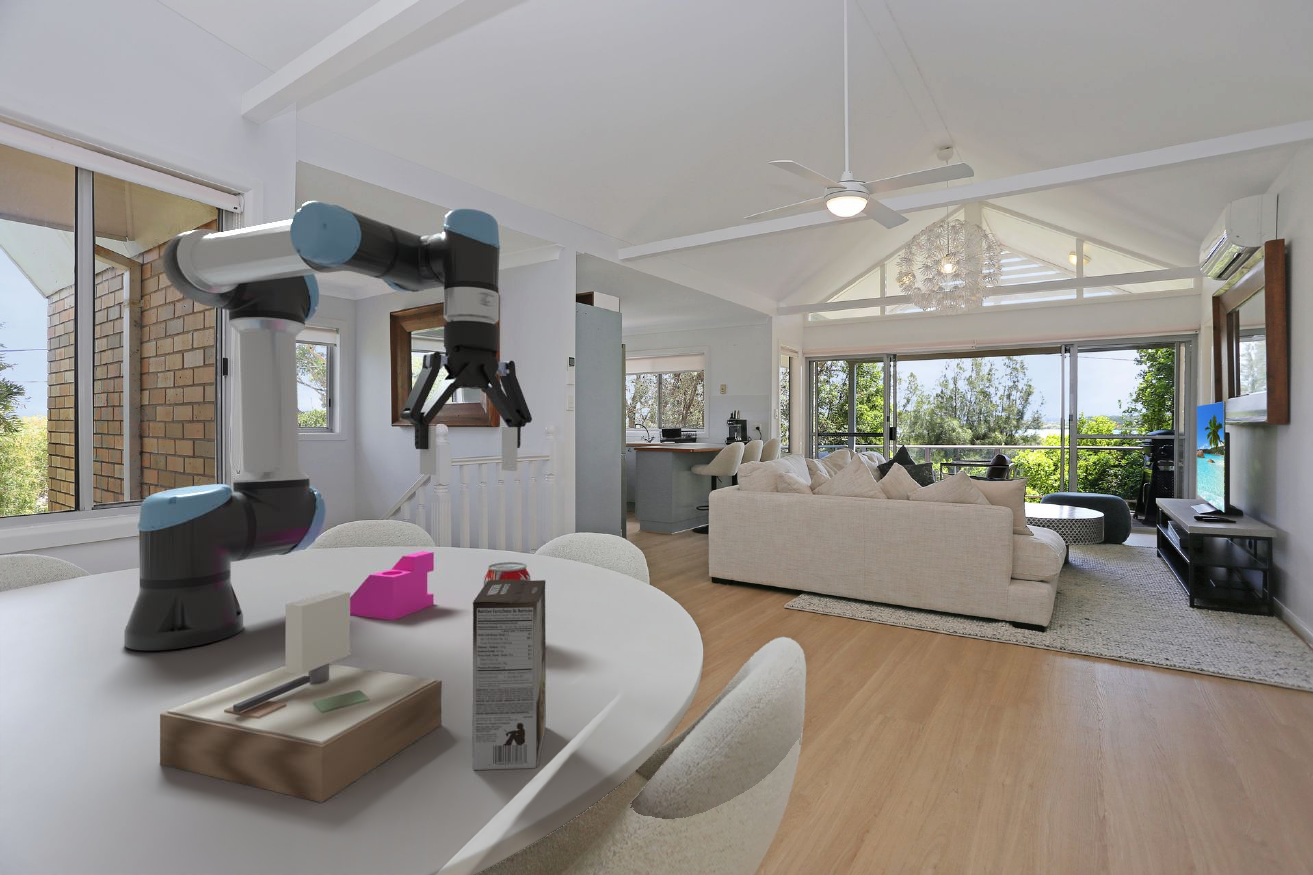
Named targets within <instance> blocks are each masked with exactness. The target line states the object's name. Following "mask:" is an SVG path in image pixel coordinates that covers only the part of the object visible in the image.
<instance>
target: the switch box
mask: <svg viewBox="0 0 1313 875" xmlns="http://www.w3.org/2000/svg"><path fill="white" fill-rule="evenodd" d="M303 676H308V672H306V673H304V674H297V673H290V672H286V665H284V666H281V667H278V668H276V669H273V670H270V671H268V672H264V673H262V674H260V675H257V676H254V677H252V678H250V679H246V680H245V681H242V682H238V683H237V684H234V685H231V686H229V687H226V688H223V689H221V690H218V691H216V692H213V693H210V694H207V695H205V696H203V697H202V696H201V697H199V698H197V699H194V700H193V701H190V702H187V703H184V704H181V705H179V706H176V707H174V708H171V709H169V710H168V709H167V711H164V712H161V713H160V714H159V765H162V766H166V767H171V768H176V769H180V770H184V771H187V772H192V773H196V774H201V775H205V776H208V777H212V778H213V777H214V778H217V779H221V780H226V781H230V782H233V783H238V784H243V785H246V786H251V787H255V788H259V789H263V790H268V791H271V792H276V793H280V794H285V795H288V796H293V797H296V798H301V799H306V800H309V801H314V802H318V803H321V804H322V803H324V802H325V801H326V800H328V799H330V798H332V797H333V796H334V795H336V794H337V793H339V792H340V791H342V790H343V789H345V788H346V787H349V785H351V784H353V783H355V782H356V781H357V780H359V779H360V778H362V777H363V776H365V775H367V774H369V773H370V772H371V771H373V770H374V769H375V768H377V767H378V766H380V765H382V764H383V763H384V762H386V761H387V760H389V759H391V758H392V757H394V756H396V755H397V754H398V753H399V754H400V752H402V751H403V750H405V749H406V748H407V747H410V746H411V745H413V744H414V743H415V742H417V741H418V740H420V739H422V738H423V737H425V736H427V735H428V734H429V733H431V732H432V731H433V730H435V729H437V728H439V727H440V726H441V725H442V685H443V684H442V679H441V680H440V679H434V678H428V677H423V676H422V677H421V676H415V675H408V674H401V673H393V672H389V671H382V670H381V671H380V670H375V669H367V668H361V667H360V668H359V667H353V666H349V665H348V666H347V665H341V664H340V665H339V664H334V663H329V679H328V680H326V681H324V682H320V683H310V682H309V683H307V684H304V685H302V686H300V687H297V688H295V689H293V690H290V691H288V692H286V693H283V694H281V695H279V696H276V697H274V698H272V699H269V700H267V701H265V702H262V703H260V704H258V705H255V706H253V707H251V708H248V709H246V710H244V711H241V712H233V705H235V704H237V703H240V702H242V701H245V700H247V699H249V698H252V697H254V696H257V695H259V694H261V693H264V692H266V691H269V690H271V689H274V688H276V687H278V686H281V685H283V684H286V683H288V682H291V681H293V680H295V679H298V678H300V677H303Z"/></svg>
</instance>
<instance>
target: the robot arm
mask: <svg viewBox="0 0 1313 875" xmlns="http://www.w3.org/2000/svg"><path fill="white" fill-rule="evenodd" d="M443 221H444V222H443V225H442V229H443V231H439V232H438V233H434V234H433V233H432V234H427V235H418V234H415V233H412V232H410V231H406V230H404V229H401V228H398V227H396V226H392V225H390V224H387V223H383V222H381V221H379V220H375V219H373V218H370V217H367V216H364V215H362V214H359V213H357V212H354V211H351V210H348V209H347V208H345V207H343V206H340V205H337V204H330V203H326V202H322V201H319V200H312V201H311V200H310V201H307V202H305V203H303V204H302V205H301V208H299V209H297V210H296V211H295V213H294V214H293V216H292V218H291V219H288V220H282V221H277V222H272V223H266V224H261V225H255V226H251V227H246V228H245V227H244V228H241V229H240V228H238V229H235V230H229V231H224V232H220V231H217V230H214V229H210V228H200V229H195V230H190V231H186V232H185V231H184V232H182V233H180V234H177V235H176V236H174V237H173V238H171V240H170V241H169V242H167V244H166V245H165V248H164V250H163V253H162V257H161V259H162V265H161V266H162V269H163V273H164V274H165V276H166V279H167V280H168V282H169V283H170V284H171V285H172V286H173V288H174V289H175V290H176V291H177V292H179V293H180V294H181V295H183V296H184V297H185V298H187V299H188V300H191V301H193V302H196V303H197V304H199V305H203V306H205V307H210V308H215V309H220V310H225V311H227V312H228V324H229V326H230V327H231V328H233V329H234V330H235V331H236V332H237V333H238V334H239V354H240V355H239V357H240V359H239V361H240V362H239V363H240V364H239V365H240V366H239V367H240V396H241V397H240V400H241V401H240V402H241V433H242V434H241V436H242V437H241V438H242V467H243V468H242V471H241V473H240V474H239V475H238V476H237V477H235V479H233V481H232V482H233V483H232V484H233V485H232V486H233V487H232V488H233V490H232V488H231V486H230V485H228V484H223V483H219V484H218V483H217V484H215V483H214V484H204V485H203V484H202V485H193V486H192V485H191V486H186V487H179V488H172V489H168V490H163V491H160V492H156V493H155V492H154V494H151V495H149V496H147V497H146V498H144V500H143V501H142V503H141V505H140V513H139V521H138V525H137V528H138V533H139V538H138V539H139V542H138V544H139V545H138V546H139V550H138V551H139V552H138V553H139V559H138V560H139V561H138V562H139V587H138V588H139V591H138V594H137V598H136V601H135V602H134V605H133V607H132V610H131V613H130V615H129V618H128V622H127V625H126V626H125V628H124V634H123V635H124V643H123V645H124V647H125V648H127V649H131V650H136V651H166V650H175V649H183V648H189V647H195V646H196V647H197V646H201V645H206V644H210V643H213V642H217V641H222V640H224V639H227V638H230V637H233V636H234V635H237V634H238V633H240V632H241V631H242V630H243V629H244V613H243V611H242V608H241V605H240V603H239V601H238V600H239V599H238V597H237V595H236V592H235V590H234V587H233V585H232V581H231V580H232V577H231V574H232V573H231V572H232V570H231V569H232V566H231V565H232V563H233V562H241V561H245V560H253V559H258V558H265V557H270V556H277V555H279V556H280V555H281V556H284V555H285V556H286V555H289V554H291V553H294V552H298V551H302V550H305V549H307V548H308V547H310V546H312V545H313V544H314V543H315V542H316V540H317V538H319V537H320V535H321V532H322V531H323V529H324V525H325V520H326V513H327V512H326V503H325V499H324V498H322V494H321V492H320V491H319V490H318V489H317V488H315V487H314V486H313V487H312V486H311V485H310V476H309V475H308V474H307V473H305V472H304V471H303V470H302V469H301V468H300V441H299V439H300V438H299V437H300V436H299V434H300V433H299V406H298V404H299V403H298V367H297V363H298V362H297V339H296V338H297V337H298V335H299V334H301V333H302V332H303V331H304V330H305V329H306V322H307V321H310V320H312V318H313V316H314V315H315V314H316V312H317V309H316V308H317V307H318V305H319V302H320V290H319V285H318V284H319V283H318V280H317V278H316V276H315V275H316V274H317V275H318V274H326V273H335V272H337V273H338V272H344V271H345V272H352V273H356V274H359V275H360V274H361V275H364V276H369V277H372V278H375V279H378V280H382V282H384V283H385V284H387V285H388V287H390V288H391V289H392V290H394V291H397V292H401V293H402V292H404V293H405V292H411V293H417V292H420V291H421V292H422V291H423V292H424V291H425V290H431V289H436V288H438V289H439V288H443V318H444V320H445V321H447V322H445V324H444V325H443V347H444V349H445V353H444V354H441V352H440V351H433V352H432V351H430V352H425V353H424V354H423V356H422V357H423V358H422V365H421V366H422V367H421V370H420V372H419V374H418V377H417V378H416V380H415V382H414V385H413V386H412V389H411V391H410V393H409V395H408V397H407V400H406V402H405V403H404V406H403V408H402V409H401V412H400V418H401V419H402V420H404V421H407V422H409V423H410V424H411V425H412V426H414V447H415V450H419V474H420V475H430V476H432V475H437V425H430V424H431V423H432V422H433V420H434V419H435V417H436V416H437V415H438V414H439V412H440V411H441V410H442V409H443V407H444V406H445V405H446V404H447V402H449V399H450V398H451V397H452V396H453V395H454V394H455V392H456V391H457V390H458V389H471V390H480V391H481V392H482V393H484V394H486V396H487V398H488V399H489V401H490V402H491V404H492V406H493V407H494V409H496V411H497V413H498V414H499V416H500V417H501V419H502V420H503V422H504V423H505V425H506V427H505V426H504V427H503V426H502V427H501V471H506V472H507V471H509V472H511V471H512V472H518V449H520V447H521V438H522V437H521V428H522V427H523V428H525V426H526V425H527V424H529V423H531V422H532V421H533V417H532V414H531V411H530V409H529V407H528V404H527V400H526V398H525V395H524V394H523V391H522V388H521V386H520V382H519V380H518V378H517V377H518V376H517V374H516V373H517V372H516V371H517V370H516V363H515V361H514V360H504V361H498V358H497V353H498V350H499V347H500V345H499V344H500V339H499V338H500V337H499V335H500V328H499V327H498V325H497V324H496V323H498V322H499V320H500V319H499V317H500V316H499V312H500V311H499V310H500V309H499V308H500V306H499V304H500V303H499V300H500V295H499V292H500V290H499V281H500V280H499V272H500V249H501V246H500V232H499V224H498V221H497V219H496V218H495V217H494V216H493V215H491V214H490V213H487V212H485V211H482V210H479V209H473V208H456V209H452V210H450V211H448V213H446V214H445V215H444V220H443ZM443 367H444V369H445V370H446V372H447V373H446V375H444V377H443V378H442V380H441V381H440V382H439V386H438V387H437V388H436V389H435V391H434V392H433V393H432V394H431V395H430V393H431V391H432V389H433V387H434V384H435V382H436V380H437V379H438V378H437V377H438V376H439V373H440V370H441V369H443ZM496 374H497V375H498V376H499V379H498V377H497V376H496ZM499 380H500V381H499ZM502 388H503V389H502ZM429 396H430V397H429ZM428 397H429V398H428ZM427 399H428V400H427Z"/></svg>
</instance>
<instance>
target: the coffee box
mask: <svg viewBox="0 0 1313 875" xmlns="http://www.w3.org/2000/svg"><path fill="white" fill-rule="evenodd" d="M546 637H547V636H546V579H541V580H538V579H537V580H531V581H527V580H489V581H487V583H486V584H485V585H484V584H483V587H482V588H481V590H480V591H479V593H478V594H477V596H476V597H475V598H474V600H473V602H472V770H473V771H485V770H488V771H490V770H513V769H514V770H515V769H518V770H519V769H536V768H538V767H539V763H540V758H541V752H542V747H543V742H544V738H545V737H544V736H545V732H546V731H545V730H546V725H547V714H546V713H547V712H546V711H547V710H546V709H547V708H546V707H547V706H546V705H547V704H546V701H547V700H546V699H547V697H546V694H547V693H546V689H547V688H546V684H547V682H546V681H547V680H546V679H547V676H546V674H547V673H546V671H547V669H546V664H547V663H546V656H547V655H546V649H547V648H546V643H547V642H546Z"/></svg>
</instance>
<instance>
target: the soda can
mask: <svg viewBox="0 0 1313 875" xmlns="http://www.w3.org/2000/svg"><path fill="white" fill-rule="evenodd" d="M527 568H528V567H527V563H523V562H516V561H515V562H514V561H507V562H496V563H492V564H489V565H488V566H487V569H488V570H487V572H486V574H485V576H484V578H483V586H484V585H485V584H486V583H487V581H489V580H527V581H532V580H531V575H530V572H529V571H528V570H527Z"/></svg>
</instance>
